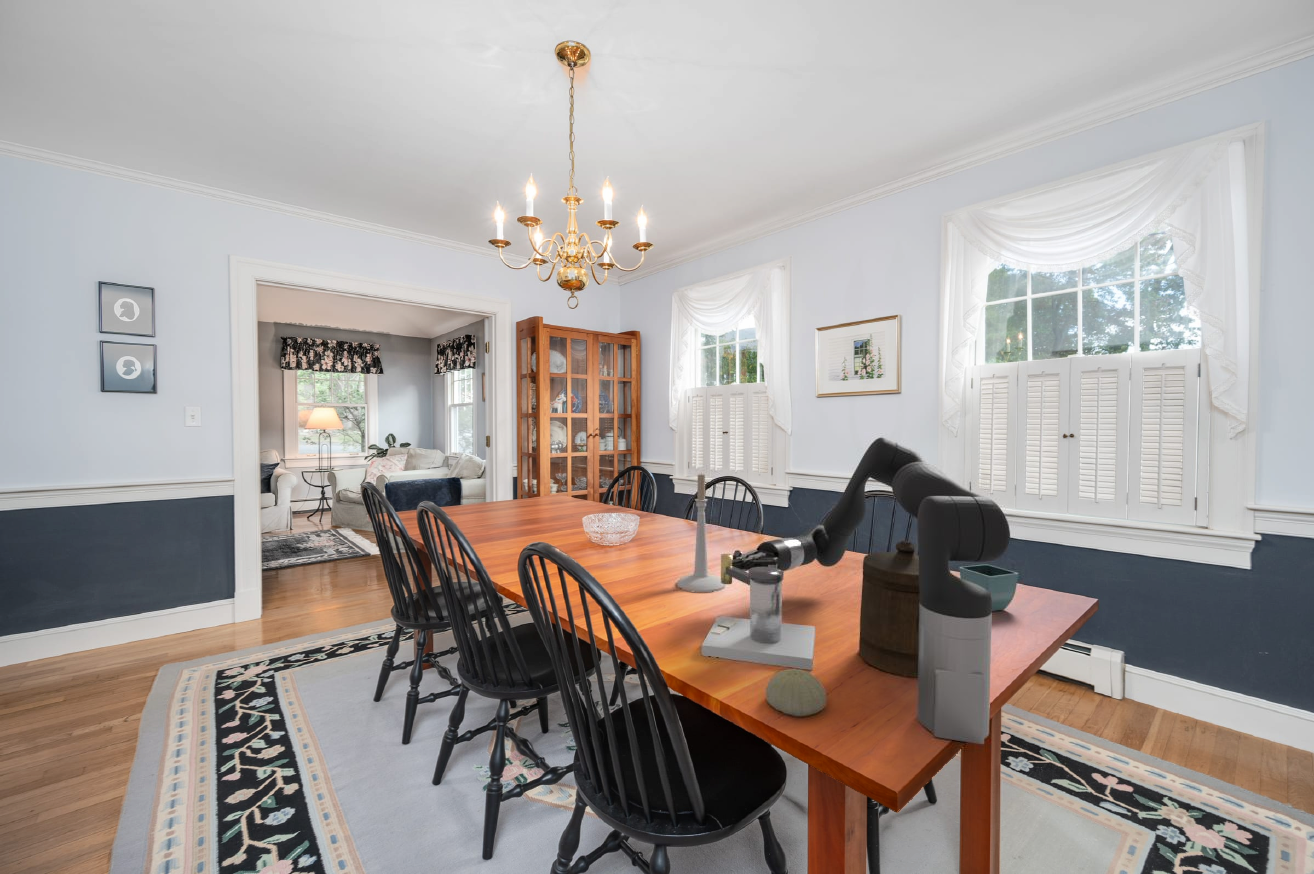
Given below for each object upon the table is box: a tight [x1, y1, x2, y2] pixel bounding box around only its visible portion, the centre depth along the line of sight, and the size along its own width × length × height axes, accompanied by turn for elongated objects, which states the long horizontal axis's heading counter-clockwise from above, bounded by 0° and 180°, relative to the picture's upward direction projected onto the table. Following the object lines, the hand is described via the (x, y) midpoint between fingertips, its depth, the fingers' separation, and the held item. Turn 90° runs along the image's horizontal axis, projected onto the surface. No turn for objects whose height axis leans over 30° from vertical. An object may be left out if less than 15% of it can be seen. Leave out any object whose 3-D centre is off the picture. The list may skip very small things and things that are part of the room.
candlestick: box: [676, 473, 726, 593], centre depth 148 cm, size 13×13×30 cm
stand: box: [701, 615, 816, 671], centre depth 109 cm, size 16×20×2 cm
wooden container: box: [858, 540, 951, 678], centre depth 103 cm, size 15×15×22 cm
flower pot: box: [958, 563, 1019, 612], centre depth 131 cm, size 9×9×9 cm
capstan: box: [720, 553, 785, 642], centre depth 113 cm, size 18×7×13 cm, turn 25°
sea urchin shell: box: [765, 668, 828, 718], centre depth 87 cm, size 9×8×8 cm
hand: (727, 567), depth 122 cm, fingers closed
